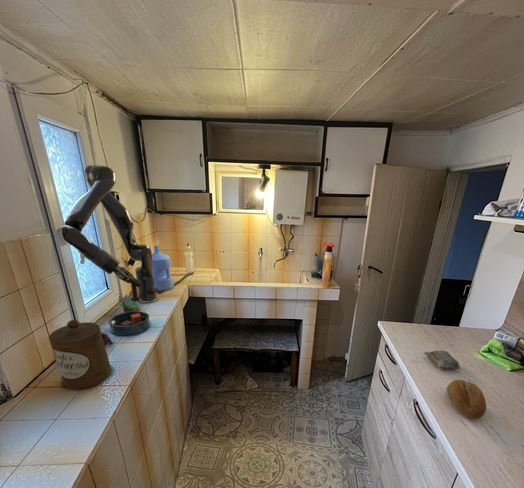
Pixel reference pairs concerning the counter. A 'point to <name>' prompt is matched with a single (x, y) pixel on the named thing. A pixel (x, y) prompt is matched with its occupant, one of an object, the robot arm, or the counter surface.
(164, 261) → the water jug
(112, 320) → the bowl
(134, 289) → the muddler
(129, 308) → the food container
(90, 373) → the wooden container
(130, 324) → the block
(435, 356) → the packaged food
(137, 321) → the block
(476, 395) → the bread roll
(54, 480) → the counter surface
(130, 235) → the robot arm
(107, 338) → the pottery mug
